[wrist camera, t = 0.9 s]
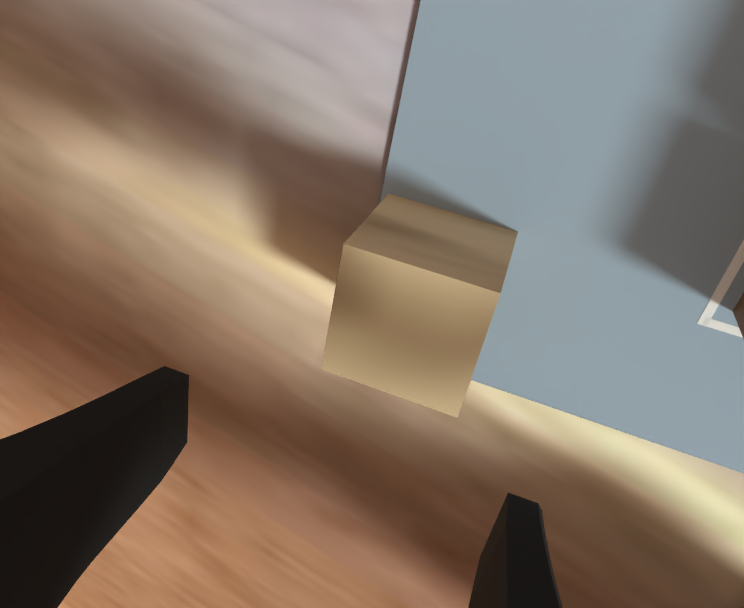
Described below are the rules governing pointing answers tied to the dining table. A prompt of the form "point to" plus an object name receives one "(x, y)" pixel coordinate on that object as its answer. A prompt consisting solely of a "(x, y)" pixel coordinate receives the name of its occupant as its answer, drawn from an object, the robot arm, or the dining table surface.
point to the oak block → (416, 301)
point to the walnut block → (740, 314)
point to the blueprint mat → (595, 200)
